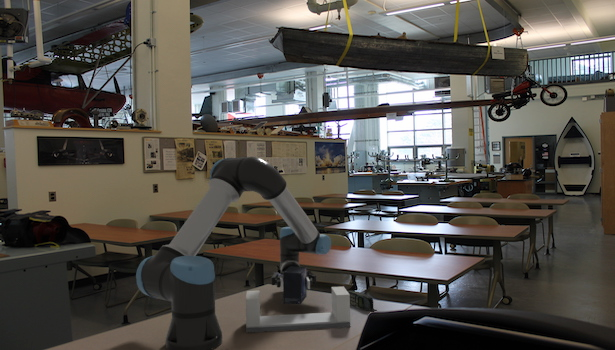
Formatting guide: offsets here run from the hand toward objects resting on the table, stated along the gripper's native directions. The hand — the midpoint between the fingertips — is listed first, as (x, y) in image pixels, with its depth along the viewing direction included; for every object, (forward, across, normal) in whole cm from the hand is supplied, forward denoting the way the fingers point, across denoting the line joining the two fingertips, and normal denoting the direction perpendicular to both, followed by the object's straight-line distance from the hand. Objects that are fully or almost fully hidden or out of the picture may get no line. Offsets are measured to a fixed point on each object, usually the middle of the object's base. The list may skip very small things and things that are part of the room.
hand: (295, 285), depth 146 cm
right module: (+8, -13, -8) cm, 18 cm away
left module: (+8, +14, -8) cm, 18 cm away
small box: (-5, 0, -6) cm, 8 cm away
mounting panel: (+8, 0, -10) cm, 13 cm away
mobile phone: (-6, -23, -10) cm, 26 cm away
